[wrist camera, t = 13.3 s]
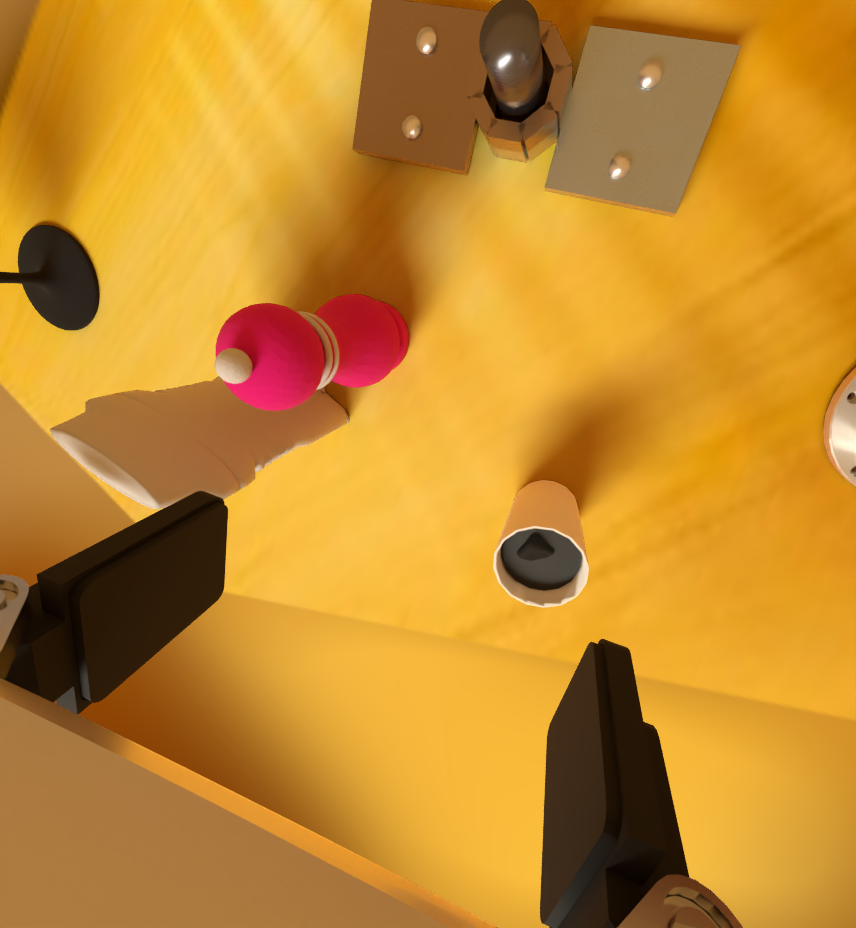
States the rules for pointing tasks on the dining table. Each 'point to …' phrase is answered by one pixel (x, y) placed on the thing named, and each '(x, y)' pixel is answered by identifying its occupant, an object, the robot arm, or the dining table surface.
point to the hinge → (564, 114)
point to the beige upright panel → (189, 439)
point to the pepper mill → (308, 349)
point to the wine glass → (56, 277)
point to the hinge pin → (514, 58)
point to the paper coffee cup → (542, 547)
